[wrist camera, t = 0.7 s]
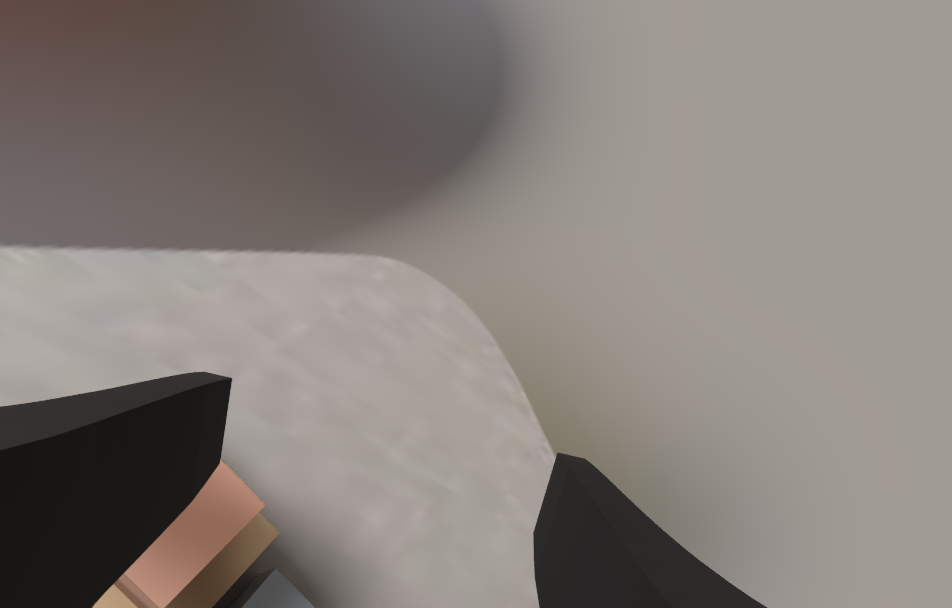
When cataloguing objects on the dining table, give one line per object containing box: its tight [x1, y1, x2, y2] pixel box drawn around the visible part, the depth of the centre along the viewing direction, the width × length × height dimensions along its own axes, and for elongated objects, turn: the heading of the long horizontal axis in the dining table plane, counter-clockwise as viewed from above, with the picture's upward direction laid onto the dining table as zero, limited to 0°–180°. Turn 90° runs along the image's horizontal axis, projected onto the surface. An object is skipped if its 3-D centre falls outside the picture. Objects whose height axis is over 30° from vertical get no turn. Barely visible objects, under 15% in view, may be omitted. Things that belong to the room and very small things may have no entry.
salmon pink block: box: [114, 459, 265, 608], centre depth 17 cm, size 4×5×4 cm
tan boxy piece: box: [92, 512, 280, 608], centre depth 20 cm, size 6×8×4 cm
